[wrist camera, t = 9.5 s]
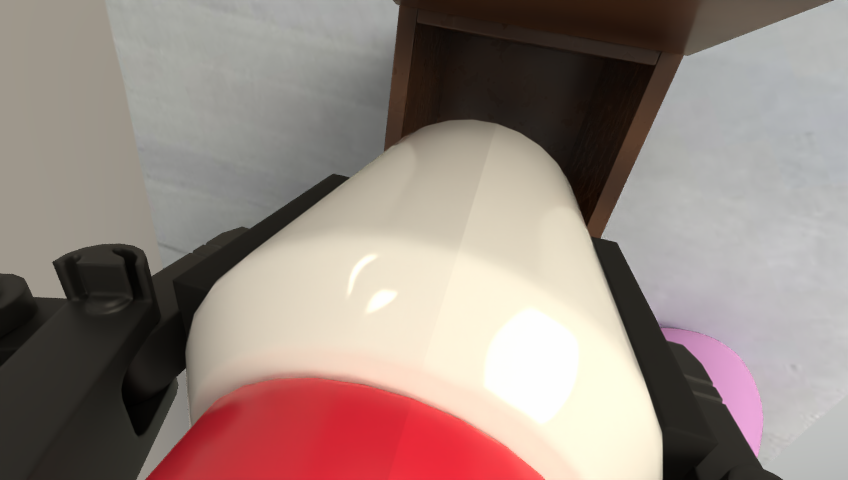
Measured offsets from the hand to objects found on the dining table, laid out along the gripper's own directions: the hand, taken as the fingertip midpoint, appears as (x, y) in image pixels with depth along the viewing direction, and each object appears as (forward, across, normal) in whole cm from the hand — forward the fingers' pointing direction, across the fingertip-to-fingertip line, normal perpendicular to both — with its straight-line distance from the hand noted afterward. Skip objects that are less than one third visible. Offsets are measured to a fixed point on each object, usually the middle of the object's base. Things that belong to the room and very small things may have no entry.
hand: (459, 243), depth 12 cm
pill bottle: (+1, 0, 0) cm, 1 cm away
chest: (+24, +1, 0) cm, 24 cm away
